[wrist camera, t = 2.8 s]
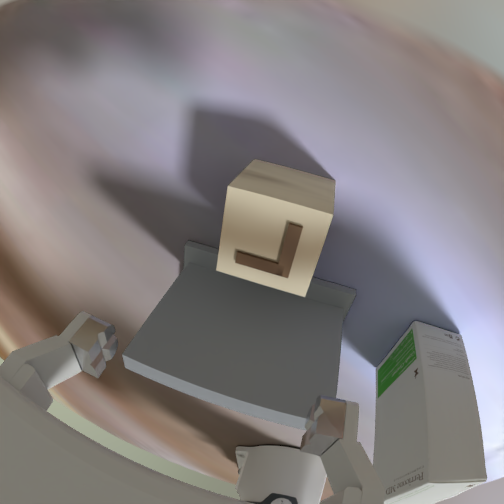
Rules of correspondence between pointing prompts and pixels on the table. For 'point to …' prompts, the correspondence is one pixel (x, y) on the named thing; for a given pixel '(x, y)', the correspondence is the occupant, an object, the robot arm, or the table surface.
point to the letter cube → (275, 226)
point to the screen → (243, 341)
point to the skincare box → (427, 419)
